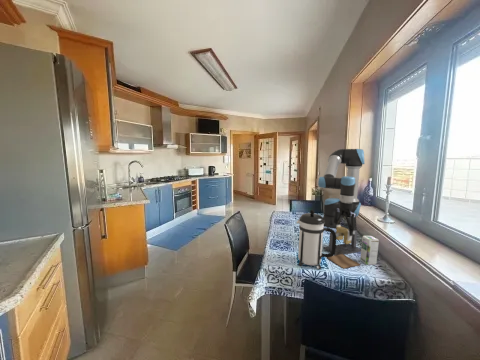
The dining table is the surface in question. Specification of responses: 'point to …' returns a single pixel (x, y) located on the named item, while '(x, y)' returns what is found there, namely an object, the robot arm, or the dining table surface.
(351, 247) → the stand
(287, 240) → the dining table surface
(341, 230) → the c link
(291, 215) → the dining table surface
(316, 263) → the coffee press
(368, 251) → the syrup box
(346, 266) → the coaster
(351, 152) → the robot arm
